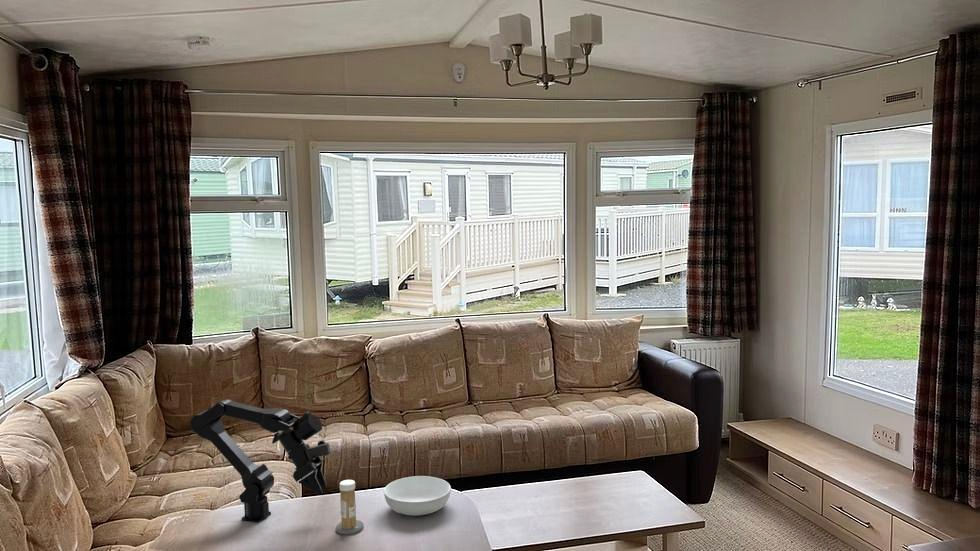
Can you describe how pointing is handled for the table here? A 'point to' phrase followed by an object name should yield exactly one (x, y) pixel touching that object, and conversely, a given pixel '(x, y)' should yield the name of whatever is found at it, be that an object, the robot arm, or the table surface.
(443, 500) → the serving bowl
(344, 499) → the sprinkles bottle
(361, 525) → the coaster
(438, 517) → the table surface
